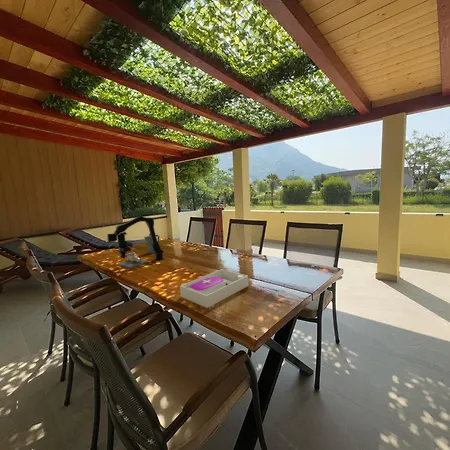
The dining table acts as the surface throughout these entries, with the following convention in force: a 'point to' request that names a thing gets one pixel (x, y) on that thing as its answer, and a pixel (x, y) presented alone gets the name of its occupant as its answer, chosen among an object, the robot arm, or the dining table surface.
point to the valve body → (133, 259)
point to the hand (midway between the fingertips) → (123, 258)
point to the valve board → (130, 264)
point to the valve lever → (127, 254)
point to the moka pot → (150, 243)
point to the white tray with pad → (213, 287)
